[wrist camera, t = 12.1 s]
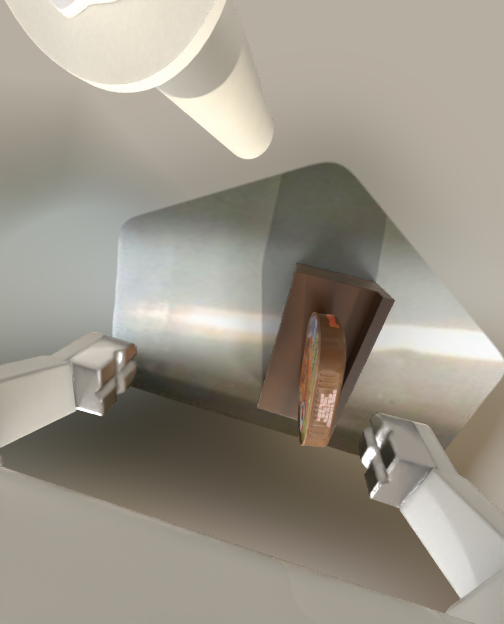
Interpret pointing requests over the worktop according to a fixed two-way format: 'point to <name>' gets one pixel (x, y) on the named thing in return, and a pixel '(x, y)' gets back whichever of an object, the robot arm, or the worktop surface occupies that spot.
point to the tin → (320, 379)
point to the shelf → (293, 328)
